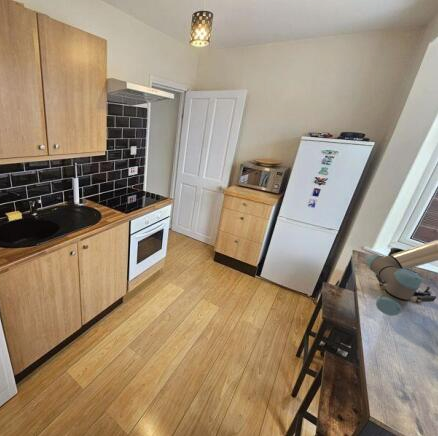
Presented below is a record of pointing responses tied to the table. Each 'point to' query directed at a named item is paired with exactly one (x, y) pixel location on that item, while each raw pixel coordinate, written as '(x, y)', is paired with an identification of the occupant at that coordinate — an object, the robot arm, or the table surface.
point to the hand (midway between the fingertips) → (407, 280)
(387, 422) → the table surface
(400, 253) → the robot arm
